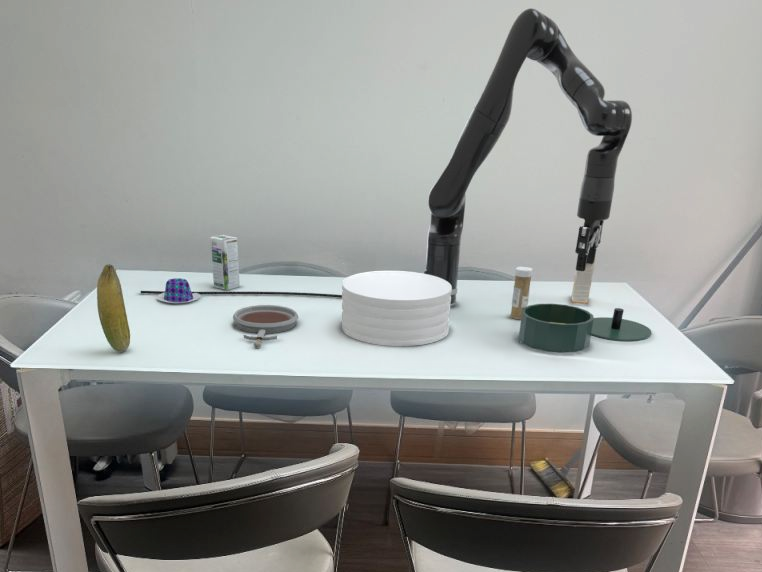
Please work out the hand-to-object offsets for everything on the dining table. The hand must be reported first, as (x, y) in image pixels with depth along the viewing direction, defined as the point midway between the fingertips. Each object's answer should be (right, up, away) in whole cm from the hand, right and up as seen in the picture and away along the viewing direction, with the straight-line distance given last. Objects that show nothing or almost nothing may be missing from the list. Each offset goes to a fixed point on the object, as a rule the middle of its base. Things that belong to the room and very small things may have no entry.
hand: (584, 267), depth 188 cm
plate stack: (-47, -12, +13) cm, 50 cm away
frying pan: (-80, -14, +8) cm, 82 cm away
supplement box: (+9, +3, +41) cm, 41 cm away
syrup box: (-97, +7, +41) cm, 105 cm away
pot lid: (+12, -12, +16) cm, 23 cm away
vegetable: (-112, -23, -9) cm, 114 cm away
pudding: (-108, 0, +29) cm, 112 cm away
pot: (-6, -17, +7) cm, 19 cm away
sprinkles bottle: (-12, -6, +25) cm, 28 cm away
